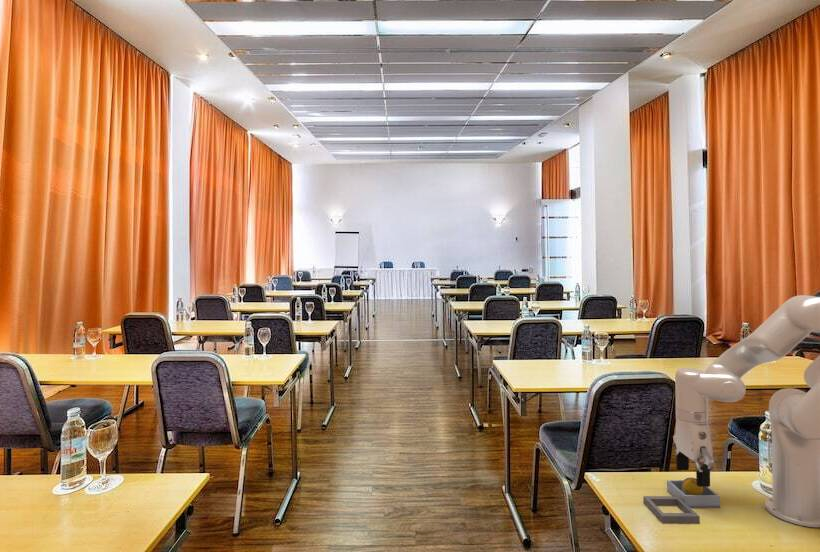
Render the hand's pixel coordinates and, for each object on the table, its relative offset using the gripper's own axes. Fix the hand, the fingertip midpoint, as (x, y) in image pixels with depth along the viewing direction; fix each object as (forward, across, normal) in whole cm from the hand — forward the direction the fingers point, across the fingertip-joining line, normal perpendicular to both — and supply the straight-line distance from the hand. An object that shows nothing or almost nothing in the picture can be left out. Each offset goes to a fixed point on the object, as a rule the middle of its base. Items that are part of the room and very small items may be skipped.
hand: (692, 477), depth 124 cm
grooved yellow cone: (+6, -1, 0) cm, 6 cm away
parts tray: (+6, 0, 0) cm, 6 cm away
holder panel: (+6, -7, +10) cm, 13 cm away
